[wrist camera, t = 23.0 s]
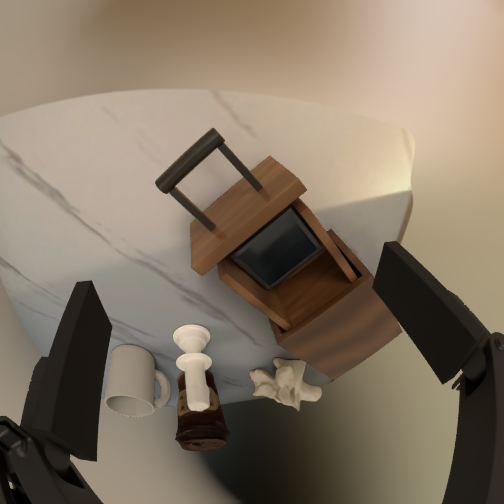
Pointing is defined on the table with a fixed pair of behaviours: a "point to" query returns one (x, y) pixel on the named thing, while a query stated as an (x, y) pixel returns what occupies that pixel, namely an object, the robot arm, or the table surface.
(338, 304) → the cabinet
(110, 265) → the table surface
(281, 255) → the tray
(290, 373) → the bone
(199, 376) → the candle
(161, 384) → the cup
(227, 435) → the coffee cup
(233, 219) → the drawer
